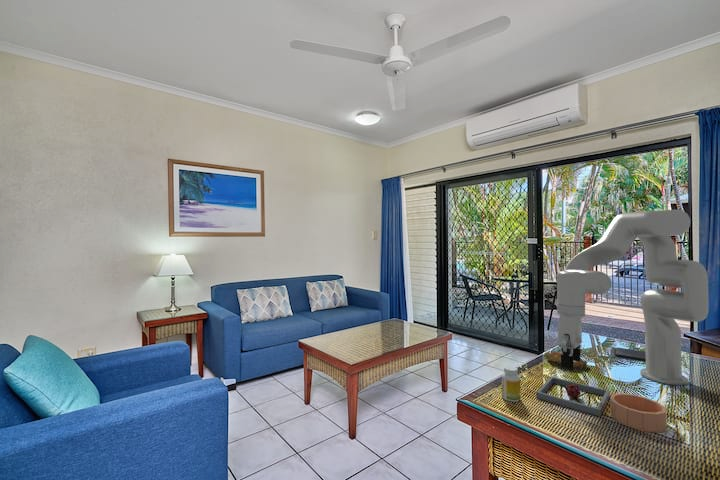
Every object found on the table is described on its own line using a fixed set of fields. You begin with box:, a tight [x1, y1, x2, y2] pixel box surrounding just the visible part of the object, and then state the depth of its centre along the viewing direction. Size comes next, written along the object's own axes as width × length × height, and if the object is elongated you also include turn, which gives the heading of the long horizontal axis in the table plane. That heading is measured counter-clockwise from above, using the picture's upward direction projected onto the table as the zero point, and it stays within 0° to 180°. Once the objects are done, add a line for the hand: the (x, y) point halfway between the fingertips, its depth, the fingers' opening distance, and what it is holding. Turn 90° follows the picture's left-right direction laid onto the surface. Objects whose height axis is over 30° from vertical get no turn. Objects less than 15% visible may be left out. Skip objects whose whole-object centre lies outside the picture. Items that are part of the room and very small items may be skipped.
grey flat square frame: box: [535, 376, 611, 417], centre depth 105 cm, size 17×17×2 cm
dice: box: [565, 384, 582, 399], centre depth 105 cm, size 4×4×4 cm
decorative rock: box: [544, 351, 588, 372], centre depth 132 cm, size 11×4×15 cm
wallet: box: [609, 347, 646, 363], centre depth 140 cm, size 20×2×15 cm
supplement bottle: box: [501, 365, 521, 403], centre depth 105 cm, size 5×5×10 cm
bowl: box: [609, 392, 667, 434], centre depth 91 cm, size 12×12×5 cm
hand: (571, 364), depth 105 cm, fingers open, 9 cm apart
